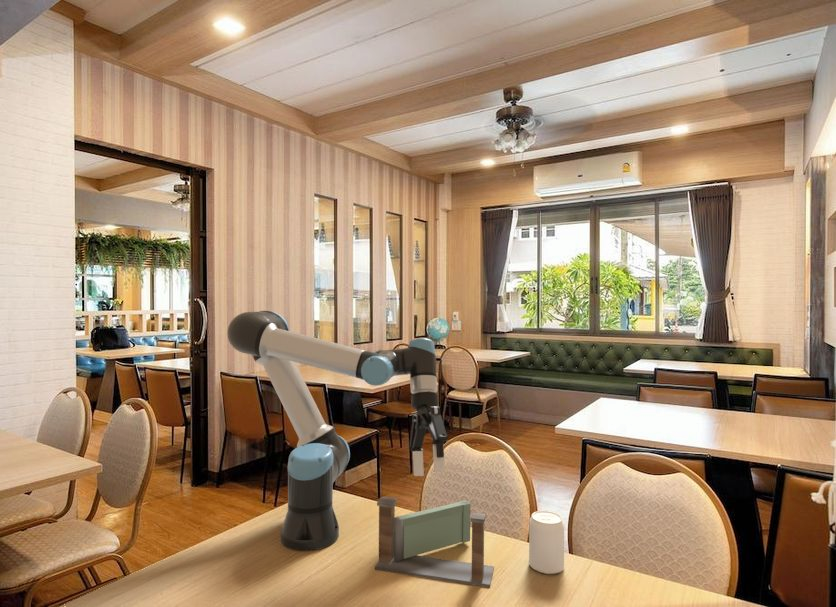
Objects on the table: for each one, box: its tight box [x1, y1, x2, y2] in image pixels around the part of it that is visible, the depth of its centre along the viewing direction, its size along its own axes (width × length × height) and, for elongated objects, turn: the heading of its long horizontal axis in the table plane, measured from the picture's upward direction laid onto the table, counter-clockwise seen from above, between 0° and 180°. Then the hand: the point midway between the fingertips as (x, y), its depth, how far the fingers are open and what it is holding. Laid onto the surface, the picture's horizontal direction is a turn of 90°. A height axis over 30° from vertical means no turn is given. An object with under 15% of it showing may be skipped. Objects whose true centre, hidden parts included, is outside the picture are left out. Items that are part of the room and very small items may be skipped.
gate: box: [394, 499, 471, 561], centre depth 126 cm, size 2×22×10 cm, turn 120°
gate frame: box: [374, 496, 495, 588], centre depth 118 cm, size 8×28×15 cm, turn 75°
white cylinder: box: [528, 510, 565, 575], centre depth 120 cm, size 8×8×12 cm
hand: (428, 474), depth 131 cm, fingers open, 13 cm apart
